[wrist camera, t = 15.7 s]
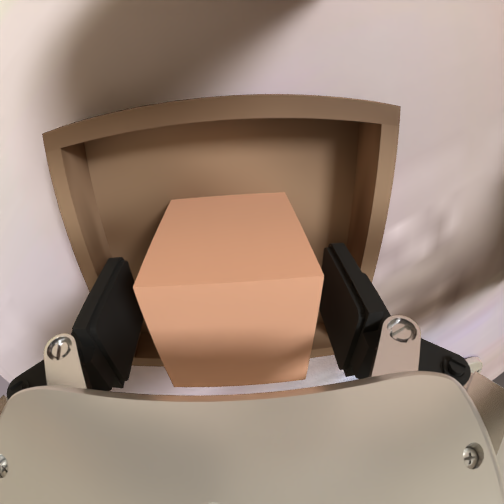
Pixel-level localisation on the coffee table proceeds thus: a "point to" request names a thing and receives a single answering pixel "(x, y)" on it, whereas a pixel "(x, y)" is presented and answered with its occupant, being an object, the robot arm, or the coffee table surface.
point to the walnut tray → (225, 175)
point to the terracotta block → (231, 291)
